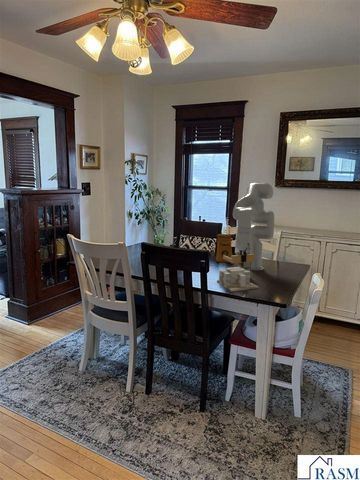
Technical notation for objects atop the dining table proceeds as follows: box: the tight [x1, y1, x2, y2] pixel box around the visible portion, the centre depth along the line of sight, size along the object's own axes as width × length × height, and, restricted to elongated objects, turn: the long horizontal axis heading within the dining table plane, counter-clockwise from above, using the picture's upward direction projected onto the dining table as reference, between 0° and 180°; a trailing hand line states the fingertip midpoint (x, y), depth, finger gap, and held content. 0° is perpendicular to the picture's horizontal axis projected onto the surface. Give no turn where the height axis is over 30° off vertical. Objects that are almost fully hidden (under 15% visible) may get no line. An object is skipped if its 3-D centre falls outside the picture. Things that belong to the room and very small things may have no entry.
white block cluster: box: [216, 266, 259, 292], centre depth 201 cm, size 19×18×9 cm
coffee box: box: [235, 251, 252, 279], centre depth 219 cm, size 9×6×16 cm
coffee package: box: [215, 233, 233, 264], centre depth 257 cm, size 10×12×22 cm
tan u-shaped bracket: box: [223, 254, 254, 264], centre depth 198 cm, size 12×14×4 cm
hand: (242, 261), depth 194 cm, fingers closed on tan u-shaped bracket, 1 cm apart
